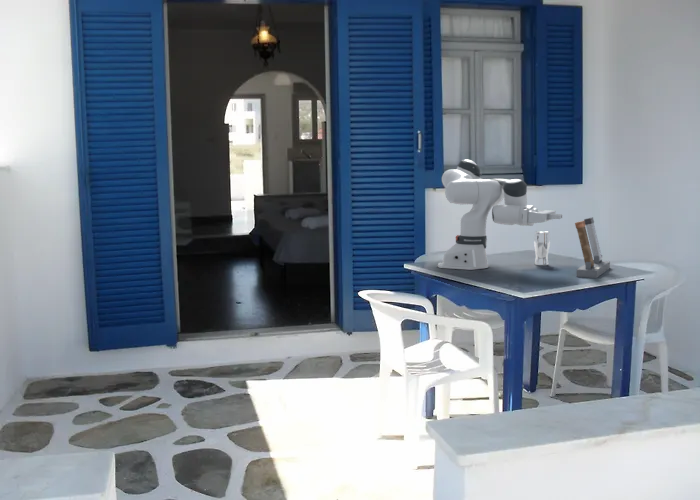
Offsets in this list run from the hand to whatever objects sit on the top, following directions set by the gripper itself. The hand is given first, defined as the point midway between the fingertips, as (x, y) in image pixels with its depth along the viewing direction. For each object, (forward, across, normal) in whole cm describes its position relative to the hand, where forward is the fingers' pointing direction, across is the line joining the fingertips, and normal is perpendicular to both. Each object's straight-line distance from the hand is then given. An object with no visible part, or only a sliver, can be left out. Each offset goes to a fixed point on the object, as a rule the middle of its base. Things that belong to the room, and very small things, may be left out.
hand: (561, 216), depth 312 cm
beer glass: (-13, -21, -24) cm, 35 cm away
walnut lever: (+13, 0, -21) cm, 24 cm away
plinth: (+12, -9, -24) cm, 28 cm away
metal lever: (+13, -18, -20) cm, 30 cm away
